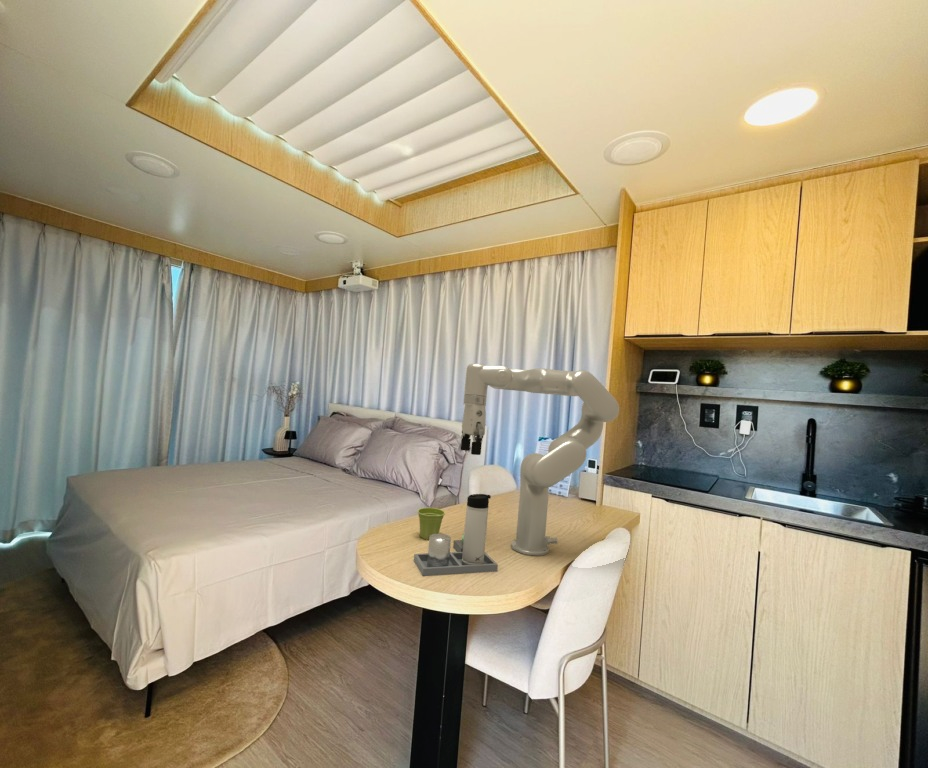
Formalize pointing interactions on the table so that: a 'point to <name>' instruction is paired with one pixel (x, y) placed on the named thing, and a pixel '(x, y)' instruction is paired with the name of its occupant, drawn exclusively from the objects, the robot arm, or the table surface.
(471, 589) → the table surface
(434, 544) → the steel stub
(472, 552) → the travel mug
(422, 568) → the divided tray
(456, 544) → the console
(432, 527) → the plant pot
